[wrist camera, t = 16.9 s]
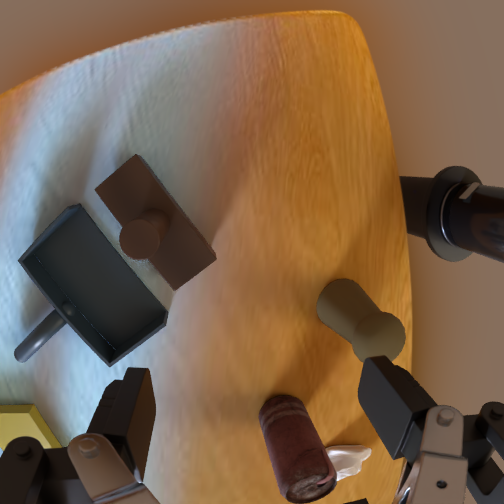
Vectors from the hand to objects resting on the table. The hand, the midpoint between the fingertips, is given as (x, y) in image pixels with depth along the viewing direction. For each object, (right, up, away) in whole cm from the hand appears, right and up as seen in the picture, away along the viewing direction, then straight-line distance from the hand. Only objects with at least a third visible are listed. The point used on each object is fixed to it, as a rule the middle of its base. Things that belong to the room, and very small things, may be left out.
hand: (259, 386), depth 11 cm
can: (+3, -16, +28) cm, 32 cm away
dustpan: (-21, -2, +21) cm, 30 cm away
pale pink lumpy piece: (+14, -28, +33) cm, 45 cm away
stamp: (-9, +8, +20) cm, 24 cm away
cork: (+10, -1, +26) cm, 28 cm away
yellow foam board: (-34, -29, +25) cm, 51 cm away
